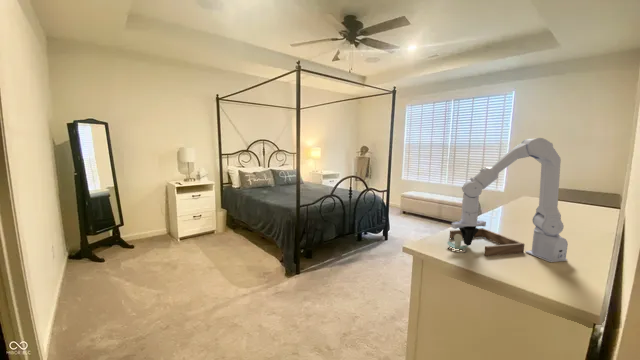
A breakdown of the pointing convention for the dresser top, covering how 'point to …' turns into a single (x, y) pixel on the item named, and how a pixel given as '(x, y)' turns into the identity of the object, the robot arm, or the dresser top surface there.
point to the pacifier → (457, 243)
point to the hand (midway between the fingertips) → (467, 244)
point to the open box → (506, 243)
